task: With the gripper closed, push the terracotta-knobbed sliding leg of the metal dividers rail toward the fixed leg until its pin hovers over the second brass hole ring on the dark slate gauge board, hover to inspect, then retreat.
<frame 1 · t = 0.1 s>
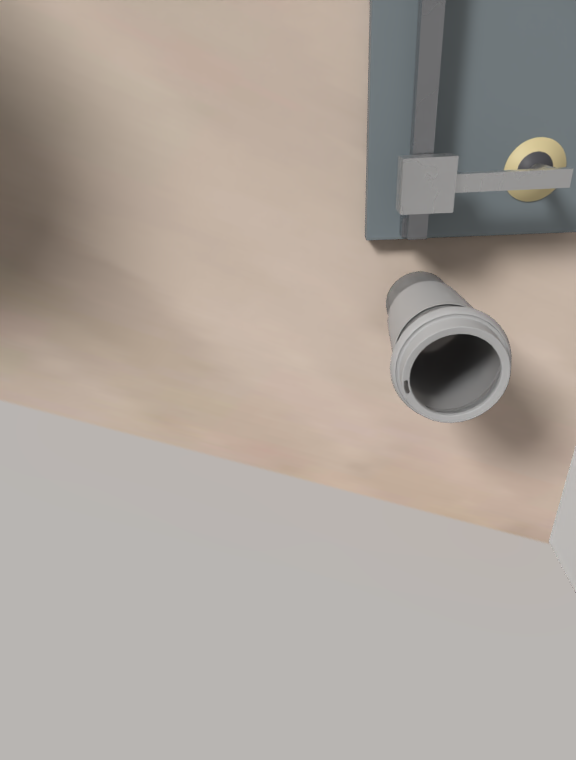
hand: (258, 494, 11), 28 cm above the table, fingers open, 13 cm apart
cup: (416, 300, 38), on the table
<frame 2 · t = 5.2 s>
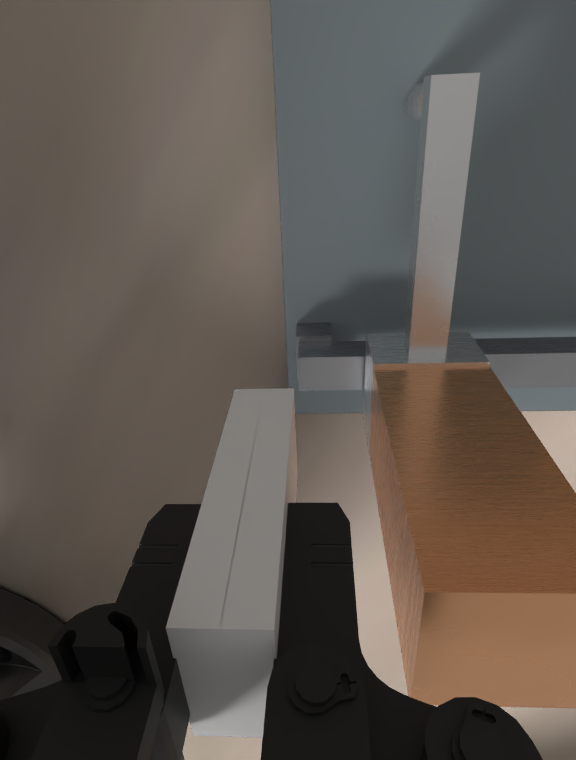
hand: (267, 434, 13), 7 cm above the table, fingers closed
sliding leg: (451, 319, 11), point 7 cm above the table, slide at 1.1 cm, touching gripper
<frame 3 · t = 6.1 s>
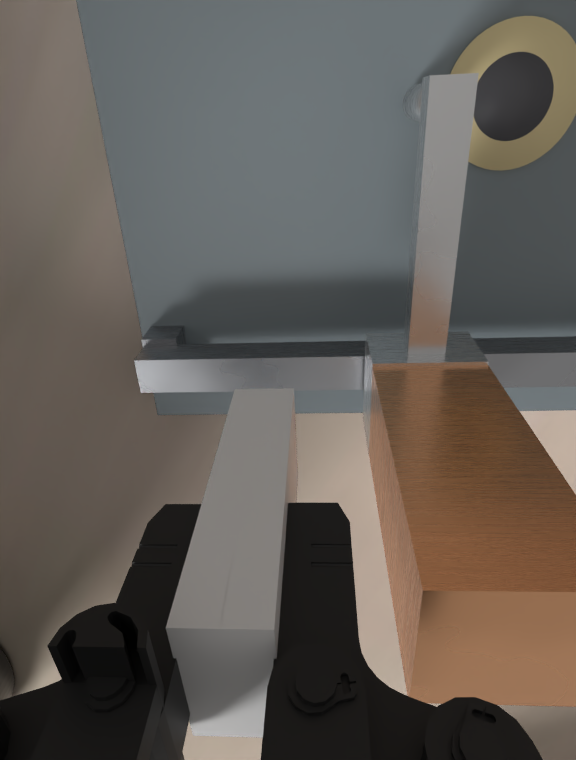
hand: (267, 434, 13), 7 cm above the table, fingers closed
gauge board: (572, 214, 17), on the table
sliding leg: (450, 319, 11), point 7 cm above the table, slide at 6.4 cm, touching gripper
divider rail: (548, 325, 19), resting on gauge board
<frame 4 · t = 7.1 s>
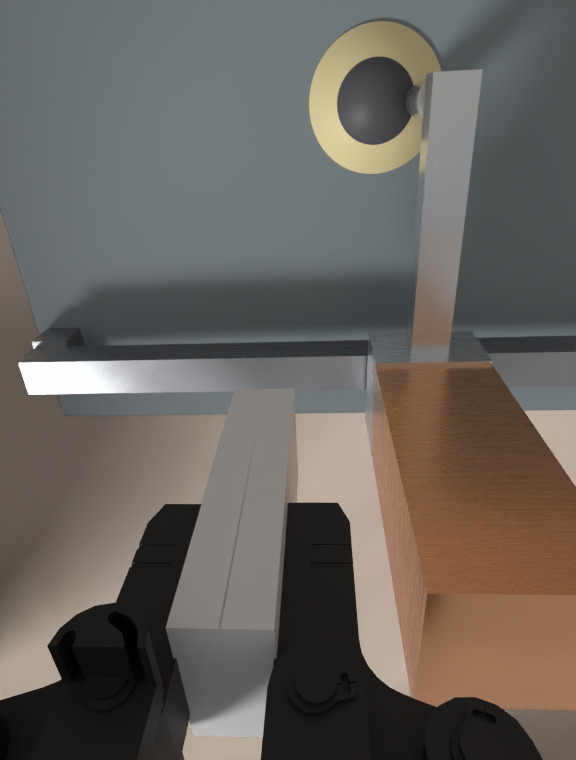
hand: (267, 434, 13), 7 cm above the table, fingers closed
gauge board: (457, 216, 17), on the table
sliding leg: (453, 318, 11), point 7 cm above the table, slide at 10.2 cm, touching gripper
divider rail: (445, 326, 19), resting on gauge board
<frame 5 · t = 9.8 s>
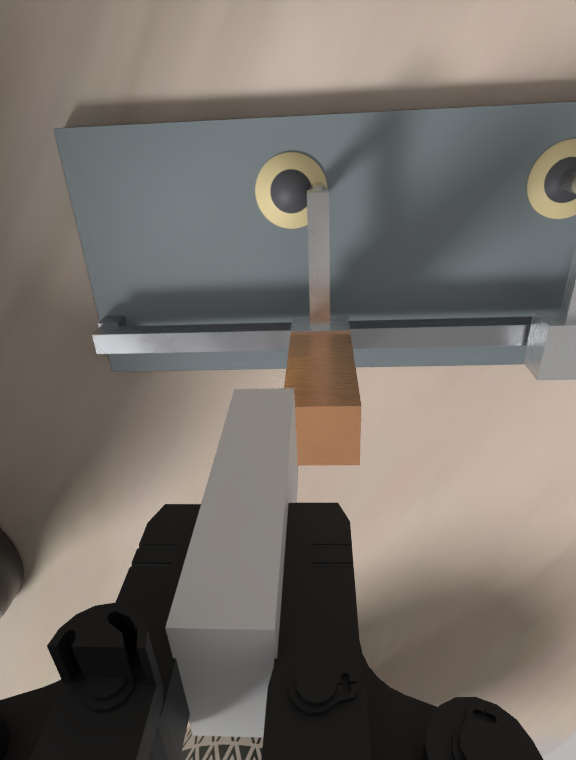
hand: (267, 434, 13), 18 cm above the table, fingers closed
gauge board: (346, 250, 29), on the table
sliding leg: (319, 307, 23), point 7 cm above the table, slide at 10.4 cm
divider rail: (346, 315, 31), resting on gauge board
planter: (248, 719, 54), on the table
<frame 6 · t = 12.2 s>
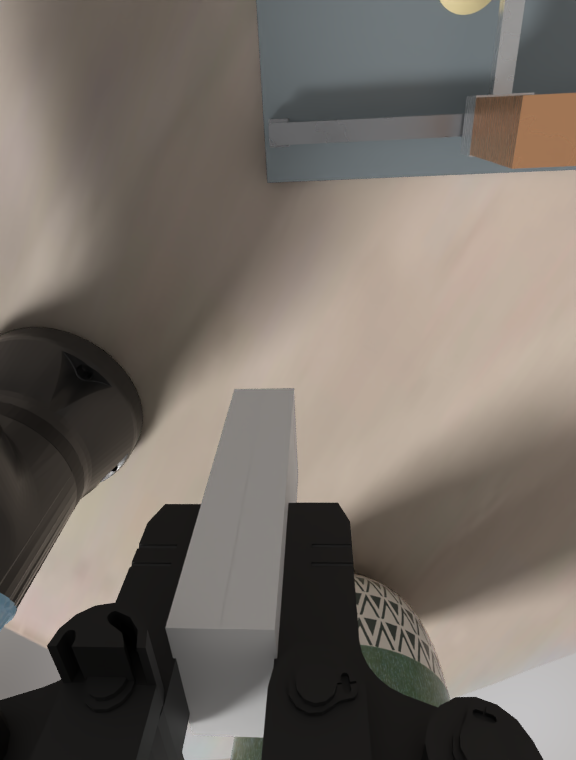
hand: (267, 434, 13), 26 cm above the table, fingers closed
gauge board: (507, 47, 31), on the table
sliding leg: (520, 52, 25), point 7 cm above the table, slide at 10.4 cm
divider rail: (496, 120, 32), resting on gauge board
planter: (339, 594, 55), on the table
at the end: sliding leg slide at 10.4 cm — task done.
